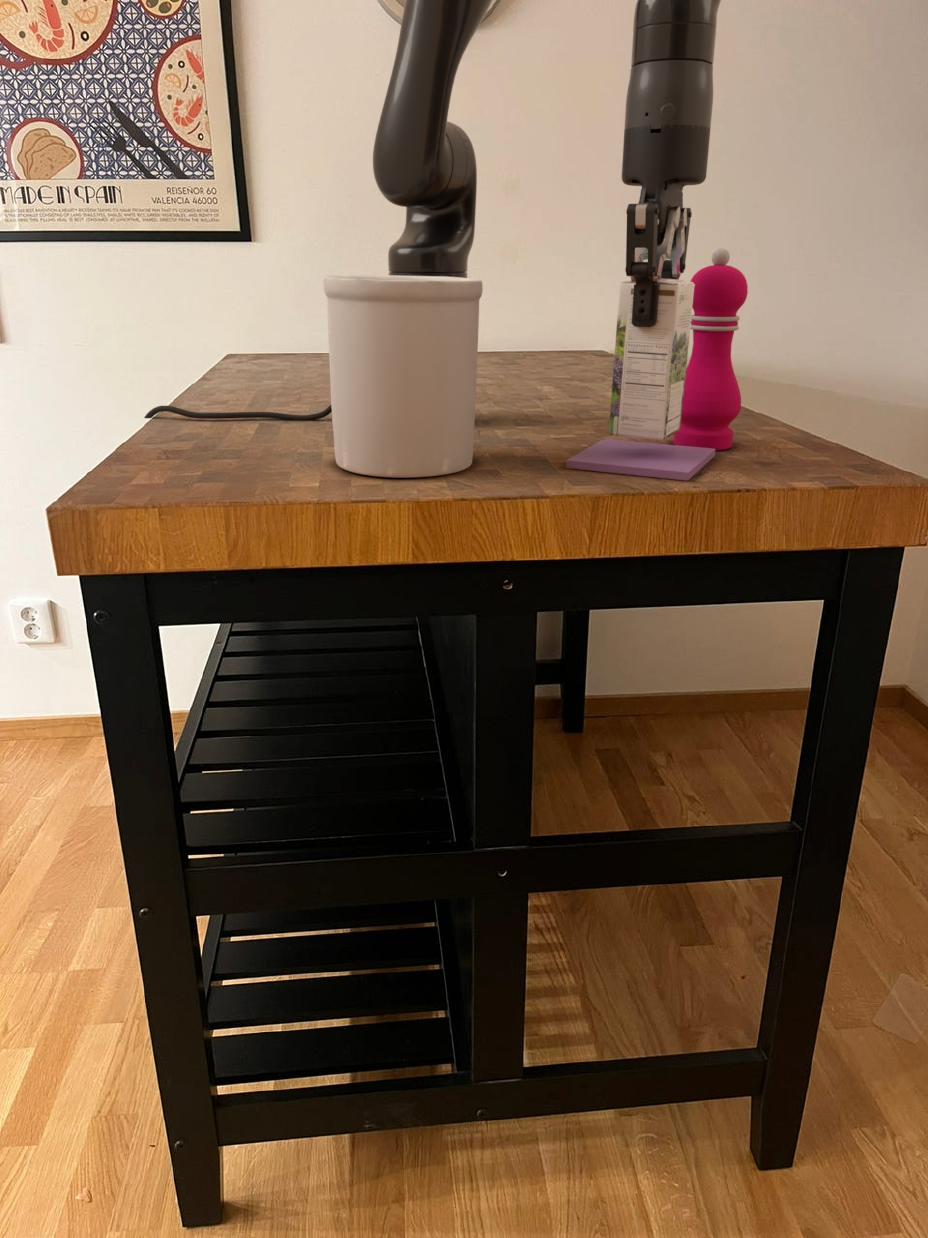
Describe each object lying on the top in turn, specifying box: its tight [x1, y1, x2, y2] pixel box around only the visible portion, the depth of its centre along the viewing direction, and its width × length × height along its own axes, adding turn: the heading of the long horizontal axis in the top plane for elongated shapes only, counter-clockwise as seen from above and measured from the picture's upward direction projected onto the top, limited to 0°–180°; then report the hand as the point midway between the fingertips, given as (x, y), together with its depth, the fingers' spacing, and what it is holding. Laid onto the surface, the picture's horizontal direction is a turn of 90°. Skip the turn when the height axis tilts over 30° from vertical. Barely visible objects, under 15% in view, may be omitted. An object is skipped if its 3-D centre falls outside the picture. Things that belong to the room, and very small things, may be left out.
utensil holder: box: [322, 274, 484, 479], centre depth 89 cm, size 15×15×18 cm
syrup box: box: [608, 279, 695, 441], centre depth 90 cm, size 6×6×14 cm
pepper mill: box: [672, 247, 749, 452], centre depth 98 cm, size 7×7×20 cm
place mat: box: [565, 438, 716, 482], centre depth 93 cm, size 12×12×1 cm
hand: (652, 323), depth 89 cm, fingers closed on syrup box, 5 cm apart
